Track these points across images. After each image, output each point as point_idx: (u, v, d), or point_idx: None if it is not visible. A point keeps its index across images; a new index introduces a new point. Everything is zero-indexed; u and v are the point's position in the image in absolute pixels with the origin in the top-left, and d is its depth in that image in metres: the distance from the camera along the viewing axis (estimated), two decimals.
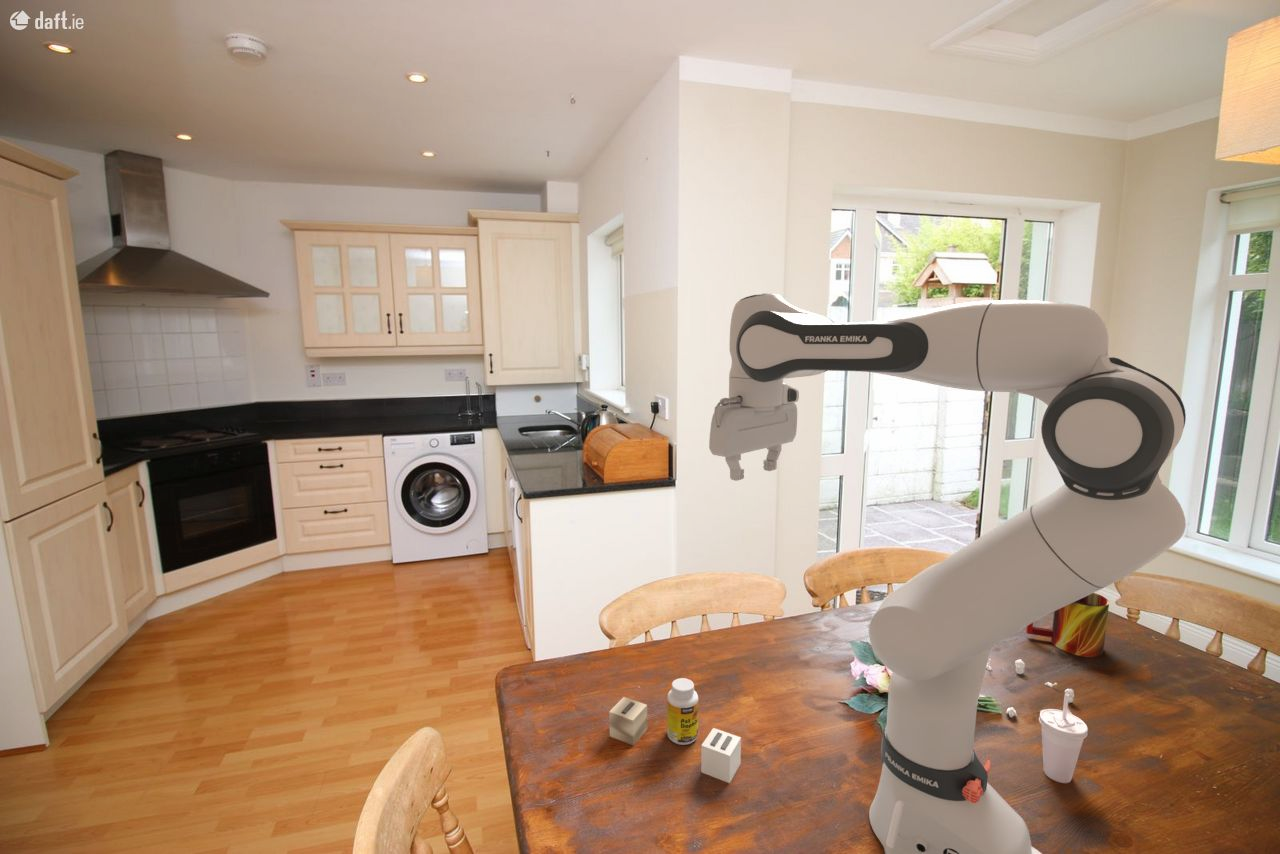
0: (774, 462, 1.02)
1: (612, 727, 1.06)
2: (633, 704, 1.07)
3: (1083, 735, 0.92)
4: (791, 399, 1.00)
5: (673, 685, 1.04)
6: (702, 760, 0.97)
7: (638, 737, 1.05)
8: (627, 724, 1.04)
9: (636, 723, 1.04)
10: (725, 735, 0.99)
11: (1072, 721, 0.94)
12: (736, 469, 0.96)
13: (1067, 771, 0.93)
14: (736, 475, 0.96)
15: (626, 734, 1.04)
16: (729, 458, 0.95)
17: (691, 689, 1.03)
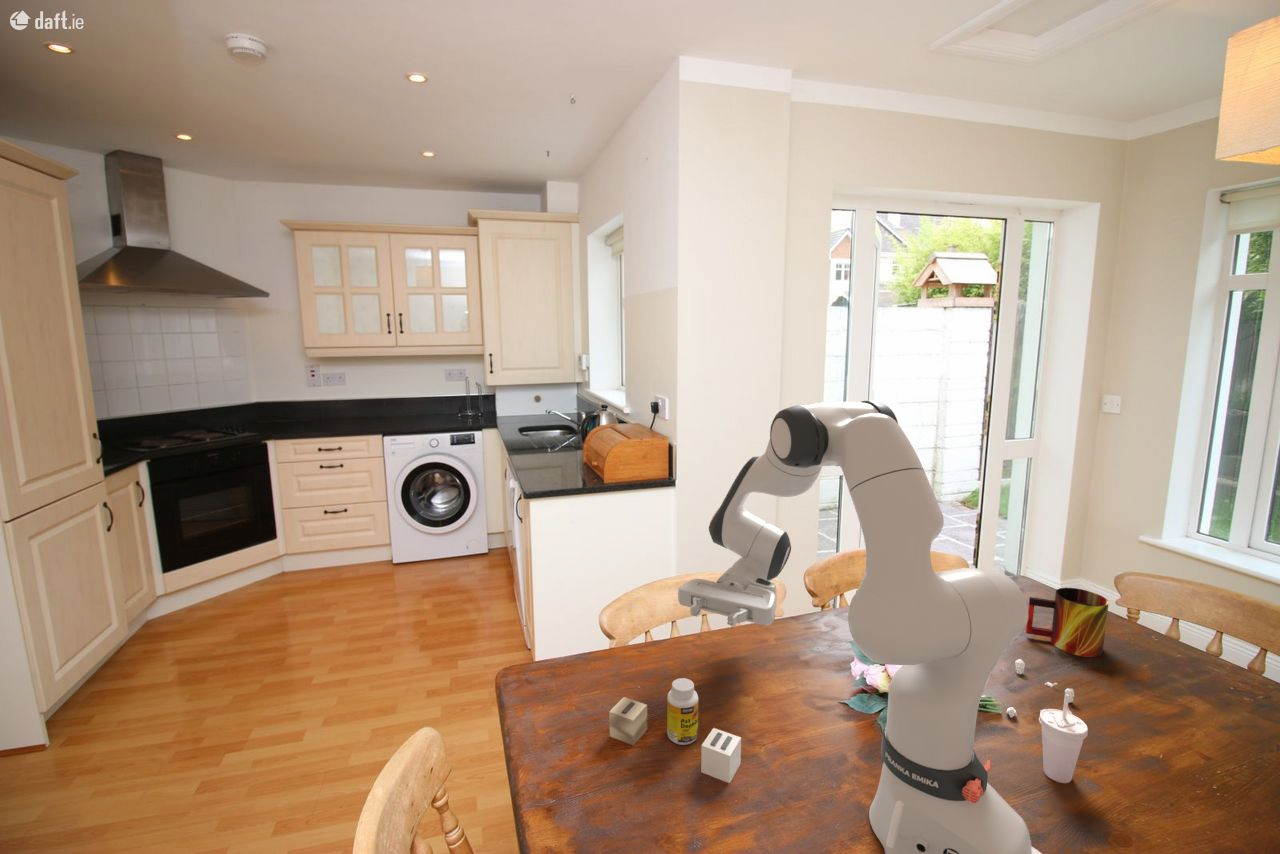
0: (733, 614, 1.14)
1: (612, 727, 1.06)
2: (633, 704, 1.07)
3: (1083, 735, 0.92)
4: (761, 583, 1.22)
5: (673, 685, 1.04)
6: (702, 760, 0.97)
7: (638, 737, 1.05)
8: (627, 724, 1.04)
9: (636, 723, 1.04)
10: (725, 735, 0.99)
11: (1072, 721, 0.94)
12: (693, 605, 1.18)
13: (1067, 771, 0.93)
14: None
15: (626, 734, 1.04)
16: None
17: (691, 689, 1.03)
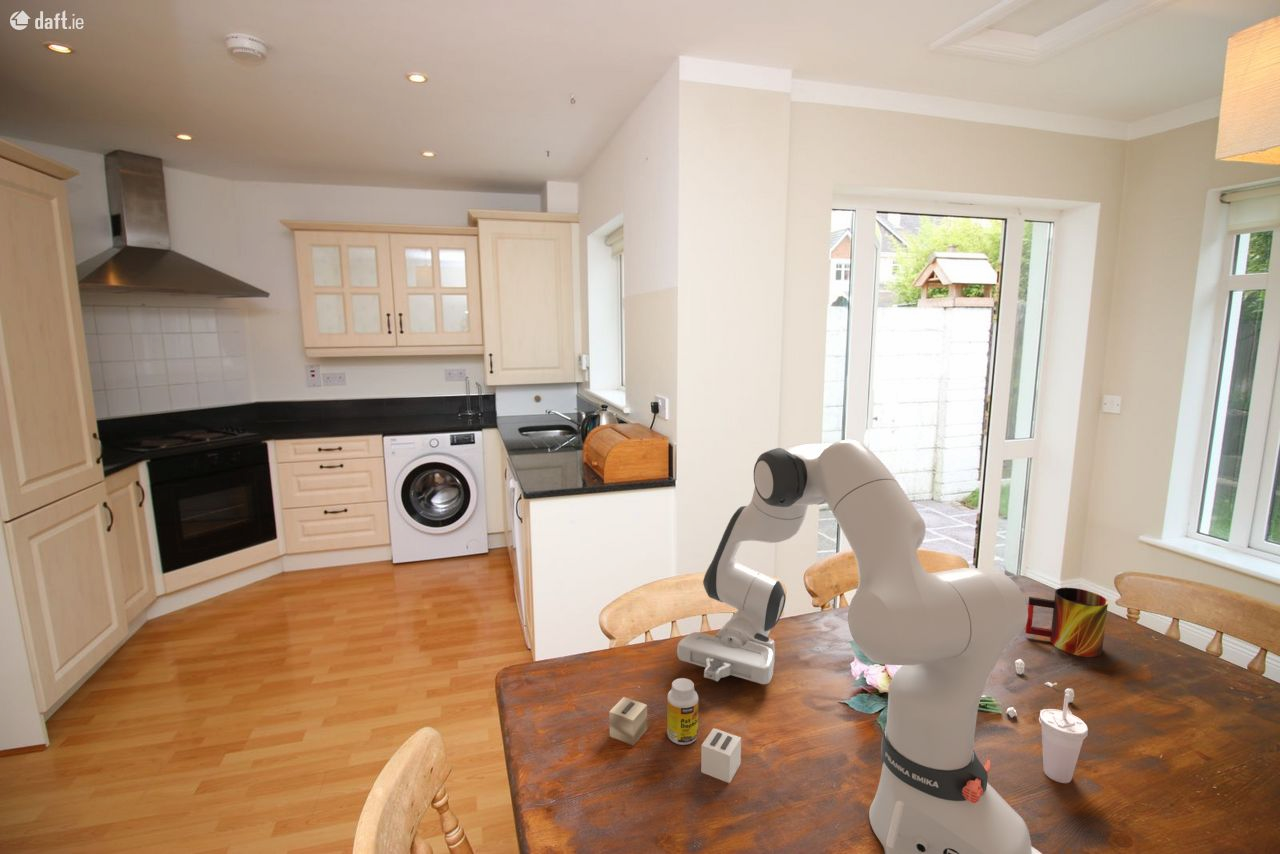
0: (716, 669, 1.17)
1: (612, 727, 1.06)
2: (633, 704, 1.07)
3: (1083, 735, 0.92)
4: (759, 639, 1.23)
5: (673, 685, 1.04)
6: (702, 760, 0.97)
7: (638, 737, 1.05)
8: (627, 724, 1.04)
9: (636, 723, 1.04)
10: (725, 735, 0.99)
11: (1072, 721, 0.94)
12: (707, 666, 1.18)
13: (1067, 771, 0.93)
14: None
15: (626, 734, 1.04)
16: None
17: (691, 689, 1.03)
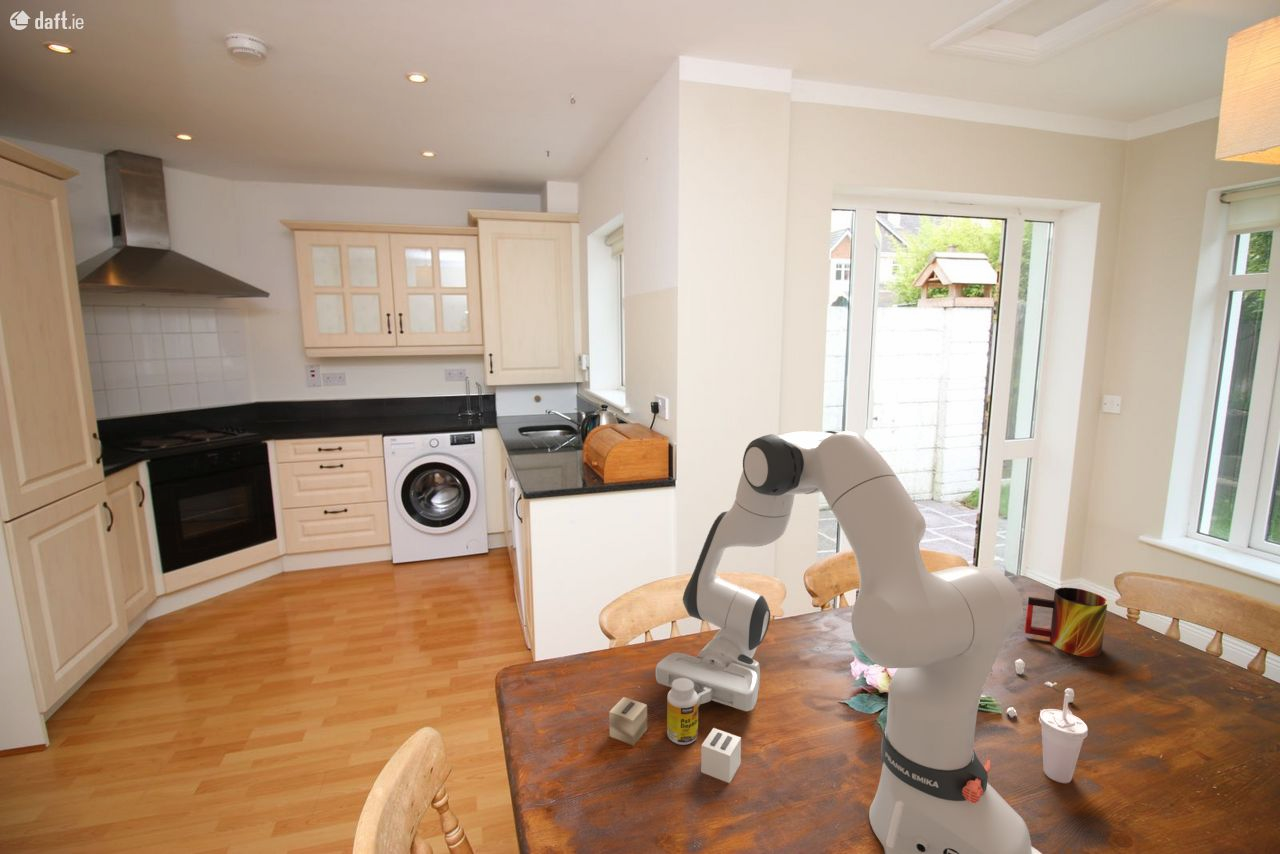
0: None
1: (612, 727, 1.06)
2: (633, 704, 1.07)
3: (1083, 735, 0.92)
4: (743, 660, 1.15)
5: (673, 685, 1.04)
6: (702, 760, 0.97)
7: (638, 737, 1.05)
8: (627, 724, 1.04)
9: (636, 723, 1.04)
10: (725, 735, 0.99)
11: (1072, 721, 0.94)
12: None
13: (1067, 771, 0.93)
14: None
15: (626, 734, 1.04)
16: None
17: (691, 689, 1.03)
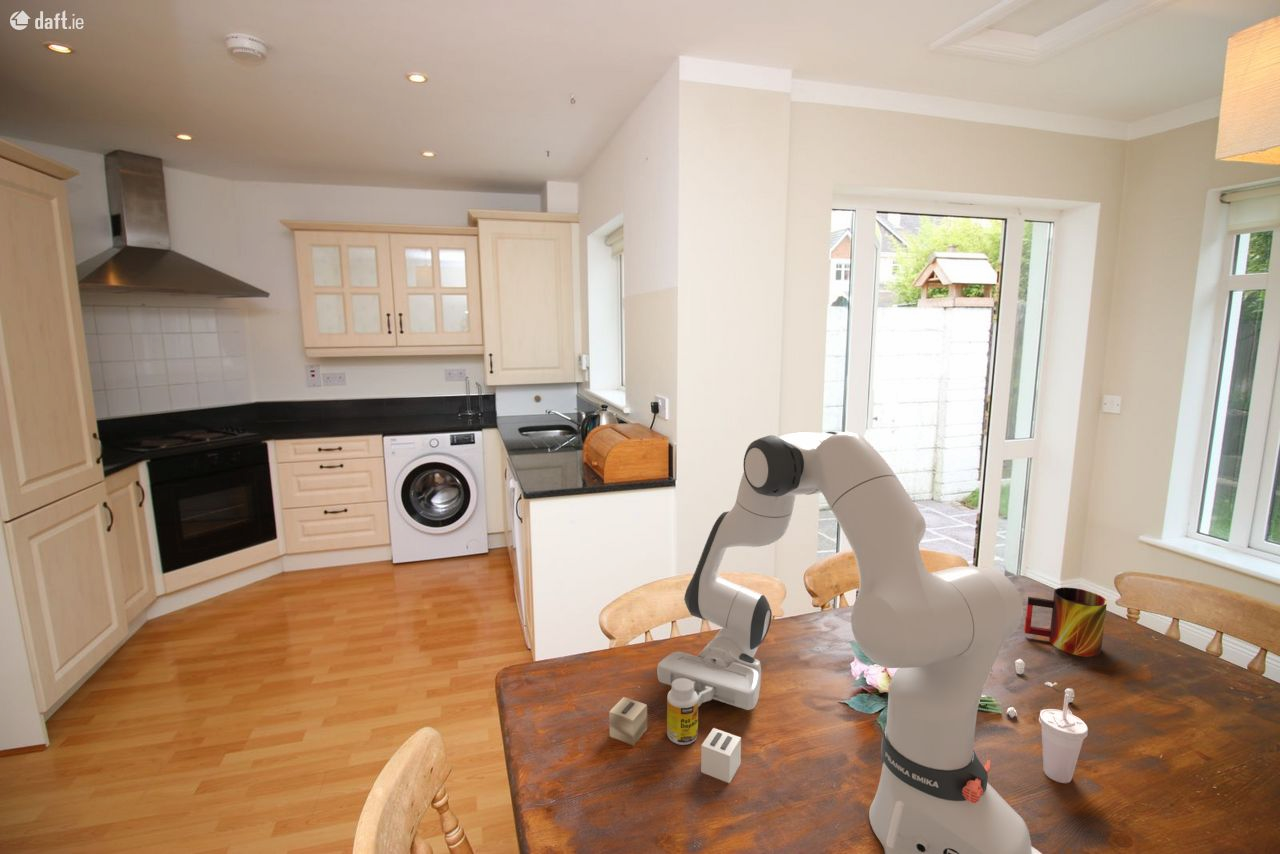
0: (698, 693, 1.09)
1: (612, 727, 1.06)
2: (633, 704, 1.07)
3: (1083, 735, 0.92)
4: (745, 659, 1.16)
5: (673, 685, 1.04)
6: (702, 760, 0.97)
7: (638, 737, 1.05)
8: (627, 724, 1.04)
9: (636, 723, 1.04)
10: (725, 735, 0.99)
11: (1072, 721, 0.94)
12: None
13: (1067, 771, 0.93)
14: None
15: (626, 734, 1.04)
16: None
17: (691, 689, 1.03)
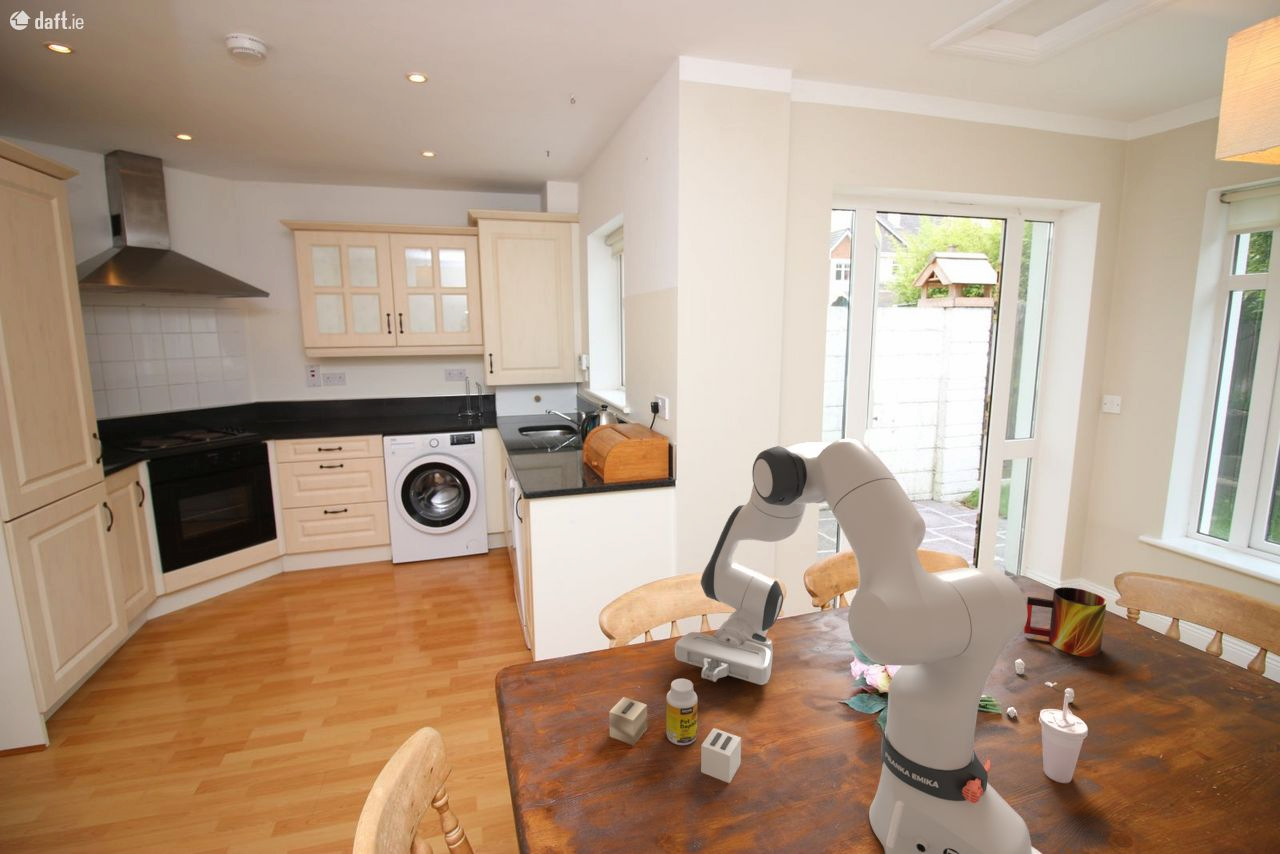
0: (714, 669, 1.16)
1: (612, 727, 1.06)
2: (633, 704, 1.07)
3: (1083, 735, 0.92)
4: (757, 639, 1.23)
5: (672, 685, 1.04)
6: (702, 760, 0.97)
7: (638, 737, 1.05)
8: (627, 724, 1.04)
9: (636, 723, 1.04)
10: (725, 735, 0.99)
11: (1072, 721, 0.94)
12: (704, 666, 1.18)
13: (1067, 771, 0.93)
14: None
15: (626, 734, 1.04)
16: (704, 664, 1.20)
17: (690, 689, 1.03)
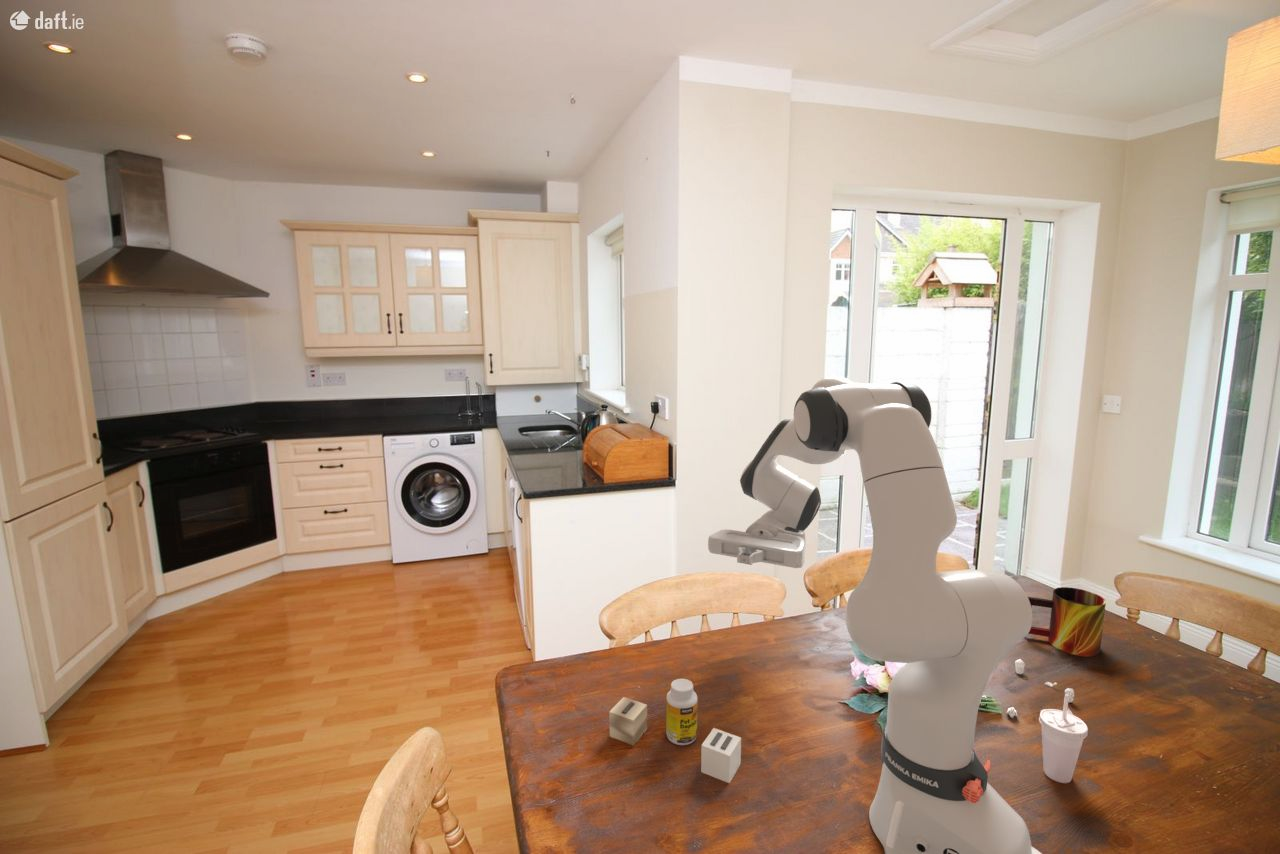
0: (749, 554, 1.18)
1: (612, 727, 1.05)
2: (633, 704, 1.07)
3: (1083, 735, 0.92)
4: (790, 530, 1.24)
5: (672, 686, 1.04)
6: (702, 760, 0.97)
7: (638, 737, 1.05)
8: (627, 724, 1.04)
9: (637, 723, 1.04)
10: (725, 735, 0.99)
11: (1072, 721, 0.94)
12: (739, 553, 1.19)
13: (1067, 771, 0.93)
14: None
15: (626, 734, 1.04)
16: (738, 552, 1.21)
17: (690, 689, 1.03)
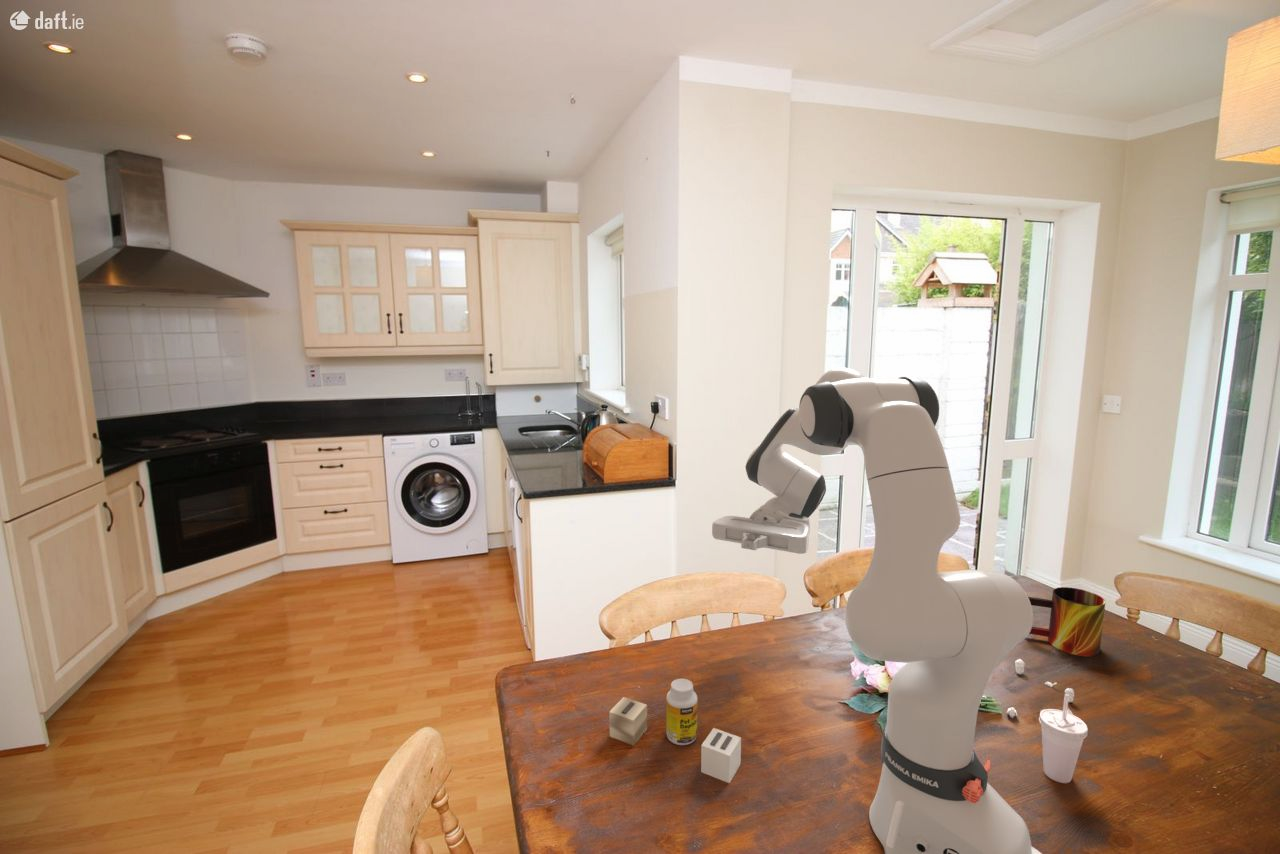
0: (754, 539, 1.18)
1: (612, 727, 1.05)
2: (633, 704, 1.07)
3: (1083, 735, 0.92)
4: (794, 516, 1.24)
5: (672, 685, 1.04)
6: (702, 760, 0.97)
7: (638, 737, 1.05)
8: (627, 724, 1.04)
9: (636, 723, 1.04)
10: (725, 735, 0.99)
11: (1072, 721, 0.94)
12: None
13: (1067, 771, 0.93)
14: None
15: (626, 734, 1.04)
16: (742, 538, 1.21)
17: (690, 689, 1.03)
